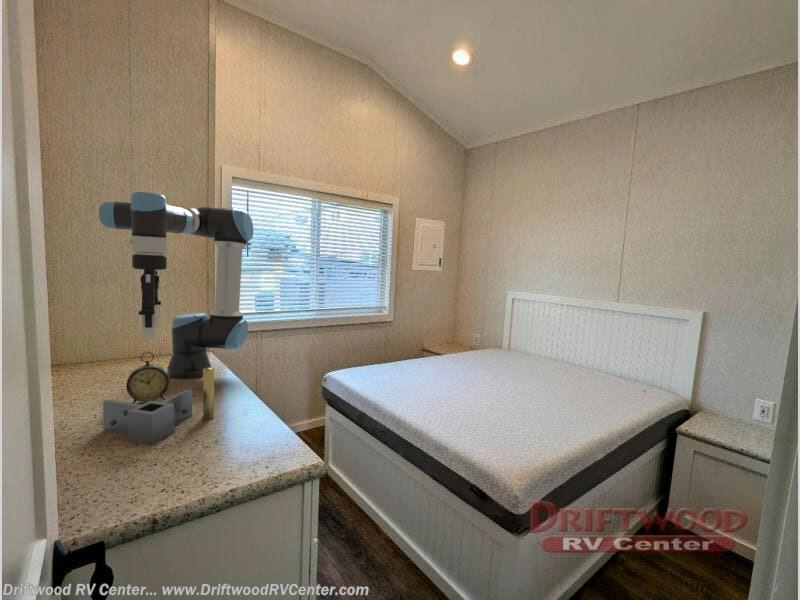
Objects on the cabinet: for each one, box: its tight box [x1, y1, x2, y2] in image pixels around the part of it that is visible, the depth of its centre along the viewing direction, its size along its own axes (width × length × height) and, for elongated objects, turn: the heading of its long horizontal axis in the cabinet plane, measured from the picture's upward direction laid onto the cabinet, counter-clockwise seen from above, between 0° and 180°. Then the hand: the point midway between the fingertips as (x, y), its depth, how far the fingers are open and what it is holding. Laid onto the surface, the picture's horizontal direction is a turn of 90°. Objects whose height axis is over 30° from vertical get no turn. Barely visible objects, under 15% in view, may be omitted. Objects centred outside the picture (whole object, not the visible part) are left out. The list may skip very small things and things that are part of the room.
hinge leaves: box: [102, 388, 193, 446], centre depth 104 cm, size 18×18×8 cm
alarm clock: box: [125, 351, 170, 404], centre depth 118 cm, size 11×5×16 cm, turn 123°
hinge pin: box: [202, 366, 215, 421], centre depth 110 cm, size 3×3×15 cm
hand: (151, 333), depth 101 cm, fingers open, 13 cm apart
